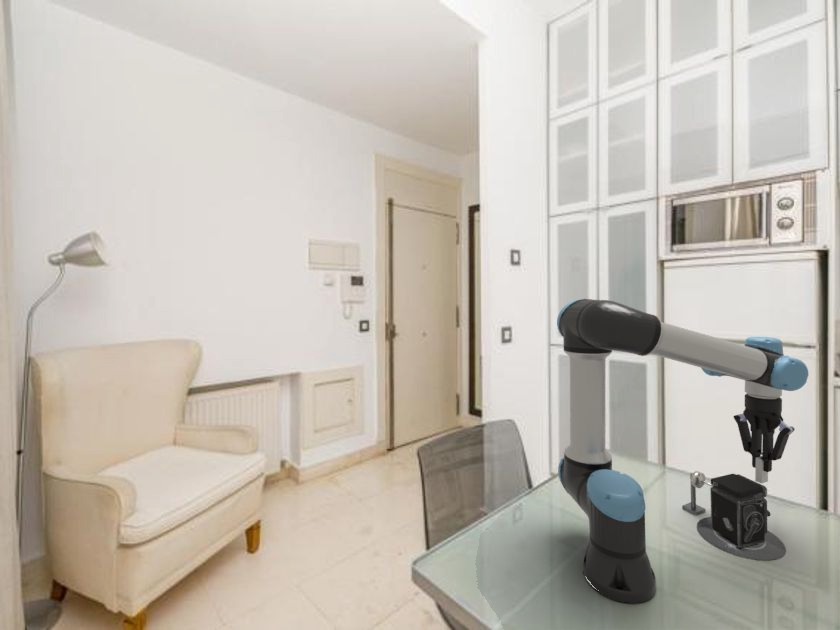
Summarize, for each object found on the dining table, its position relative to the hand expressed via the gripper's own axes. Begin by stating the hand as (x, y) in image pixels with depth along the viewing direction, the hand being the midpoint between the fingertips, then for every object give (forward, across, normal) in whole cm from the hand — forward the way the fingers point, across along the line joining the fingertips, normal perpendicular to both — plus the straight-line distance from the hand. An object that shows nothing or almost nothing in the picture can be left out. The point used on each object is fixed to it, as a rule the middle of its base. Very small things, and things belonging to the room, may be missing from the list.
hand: (761, 481), depth 107 cm
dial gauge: (+13, +10, +8) cm, 18 cm away
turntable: (+13, 0, +10) cm, 16 cm away
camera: (+13, -1, +10) cm, 16 cm away
